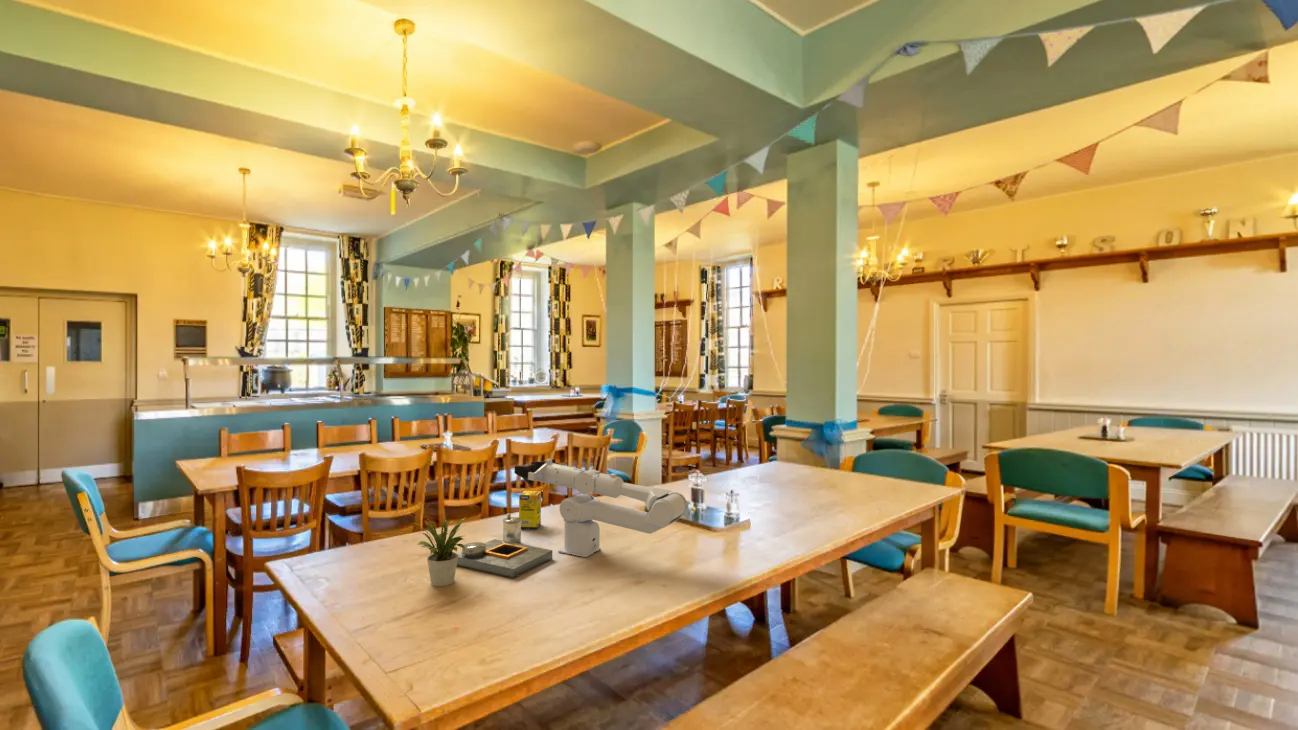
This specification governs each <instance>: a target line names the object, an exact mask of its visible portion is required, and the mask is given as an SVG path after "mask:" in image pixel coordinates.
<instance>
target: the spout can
mask: <svg viewBox="0 0 1298 730" xmlns="http://www.w3.org/2000/svg"><path fill="white" fill-rule="evenodd" d="M506 514H507V515H506V517H505V518H503V519H502V527H503V528H502V541H507V542H513V543H518V544H522V539H521V538H522V535H521V534H522V533H521V532H522V529H521V518H519V516H517V517H516V516H512V515H511V513H509V512H508V513H506Z"/></svg>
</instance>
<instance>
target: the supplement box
mask: <svg viewBox="0 0 1298 730" xmlns="http://www.w3.org/2000/svg"><path fill="white" fill-rule="evenodd" d="M518 497H519V498H518V500H519V501H518V517H519V518H521V530H538V528H539V527H540V526H541V524H542V521H541V520H542V518H541V517H542V490H538V491H537V490H524V491H522V492H521V493H520V494H519V495H518Z"/></svg>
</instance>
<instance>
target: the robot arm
mask: <svg viewBox="0 0 1298 730" xmlns="http://www.w3.org/2000/svg"><path fill="white" fill-rule="evenodd" d="M513 470H514V474H515V475H517V476H519V478H522V479H523V480H524V481H525V482H526V483H527V484H528V485H532V484H534V482H535V481H537V482H541V483H544V484H551V485H556V486H560V487H565V488H569V489H574V490H577V492H579V494H576V495H573V496H571V497H566V498H564V499H562V500H561V502H560V504H559V513H560V516H561V517H562V518H563V521H564V546H563V547H562V548H559V549H558V550H557V552H558V553H562V554H567V555H571V554H572V555H573V556H578V557H584V558H588V557H589V556H591V555H592V554H595V553H596V551H597V552H599V551H600V550H601V549H602V548H601V547H600V539H601V537H600V531H601V530H600V525H599V523H598V522H601V523H604V524H609V525H613V526H617V527H621V528H625V529H630V530H633V531H638V532H641V533H645V534H650V535H651V534H653V533H656V532H658V531H661V530H662V529H665V528H666V527H668V526H669V525H671V524H674V523H675V522H677V521H678V520H680V518H681V517H682V516H683V515H684V514H685V513H686V511H687V509H688V500H687V499H686V497H685V496H684V495H683V494H682V493H680V492H672V490H670V489H665V488H658V487H654V486H653V487H652V486H646V485H640V484H635V483H634V484H633V483H627V482H624V479H623V478H621V476H617V473H613V472H612V473H610V474H607V473H603V472H601V471H600V470H597V469H596V468H590V469H589V470H586V469H582V468H577V467H572V466H568V465H563V464H557V463H556V459H555V458H553V459H552V458H547V459H546V460H545V461H531V463H530V464H529V465H516V466H514V469H513ZM591 492H592V493H593V494H596V495H601V496H605V497H608V498H613V499H618V498H619V497H620V496H624V497H626V498H630V499H635V500H638V501H641V502H644V503H645V506H646V508H647V511H648V512H647V511H643V510H638V509H634V508H630V507H627V506H621V505H616V504H613V503H609V502H604V501H601V499H600V498H599V497H595V496H594V495H592V494H591ZM596 521H597V522H596ZM599 549H600V550H599ZM594 552H595V553H594ZM572 555H571V556H572Z"/></svg>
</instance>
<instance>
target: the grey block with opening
mask: <svg viewBox="0 0 1298 730" xmlns="http://www.w3.org/2000/svg"><path fill="white" fill-rule="evenodd" d="M463 545H464V546H465V548H464V549H463V548H462V547H461V552H457V554H458V560H457V566H456V567H459V568H464V569H469V570H474V571H477V572H482V573H487V574H491V575H494V576H495V575H496V576H499V577H504V578H509V579H514V580H515V579H516V578H518V577H520V576H522V575H524V574H526V573H528V572H530V571H531V570H533V569H536V568H537V567H540V566H542V565H544V564H545V563H548V562H549V561H552V560H553V549H548V548H543V547H537V546H532V545H526V544H524V543H523V544H522V543H521V544H518V543H513V542H507V541H503V539H502V540H501V539H497V538H494V539H491V540H488V541H487V542H479V541H477V542H476V541H475V542H467V543H465V544H463ZM464 550H465V551H464Z"/></svg>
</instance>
